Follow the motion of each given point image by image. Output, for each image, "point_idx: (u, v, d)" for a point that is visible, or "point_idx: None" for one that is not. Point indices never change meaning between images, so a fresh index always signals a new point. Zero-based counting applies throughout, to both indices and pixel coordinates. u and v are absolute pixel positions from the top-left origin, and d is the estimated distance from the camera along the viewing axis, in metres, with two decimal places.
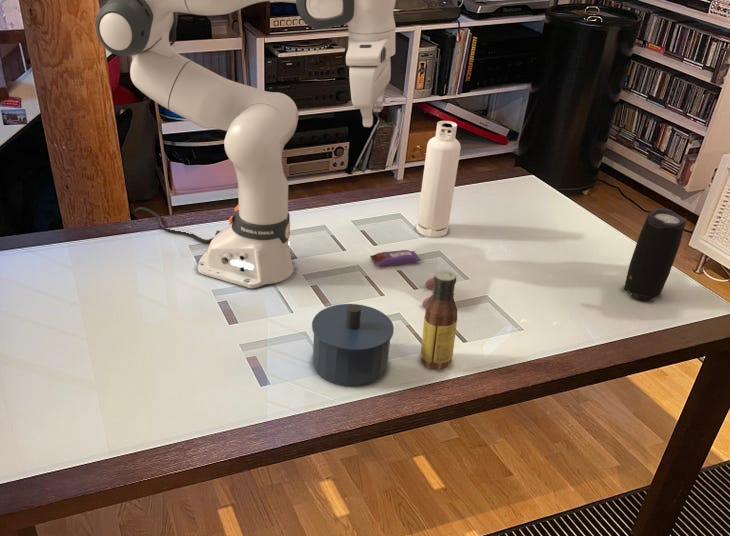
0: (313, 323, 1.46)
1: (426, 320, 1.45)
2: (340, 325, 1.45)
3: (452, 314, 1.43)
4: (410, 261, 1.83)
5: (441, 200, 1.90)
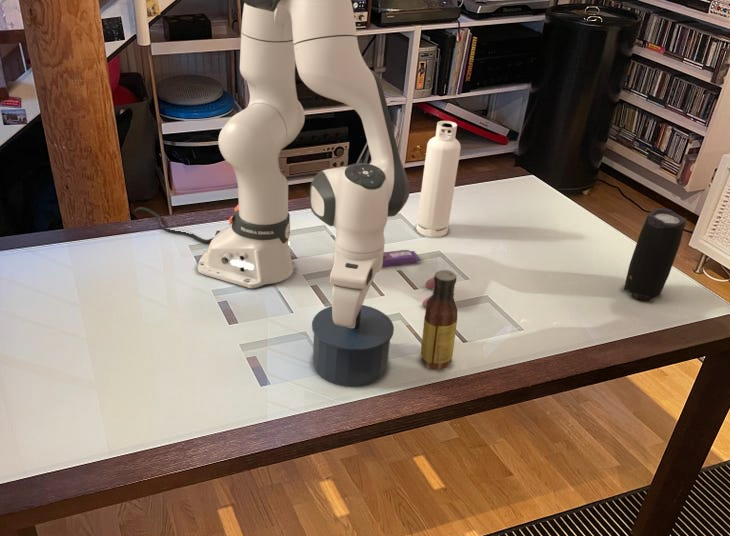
0: (313, 323, 1.46)
1: (426, 320, 1.45)
2: None
3: (452, 314, 1.43)
4: (410, 261, 1.83)
5: (441, 200, 1.90)
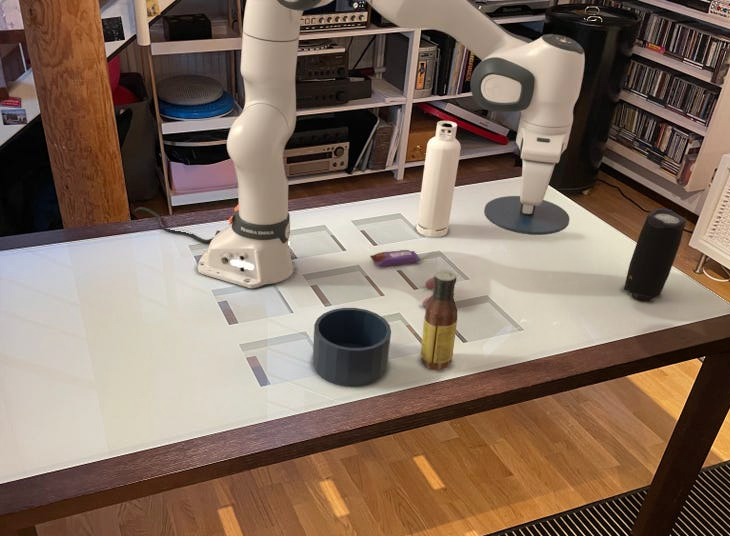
0: (486, 211, 1.43)
1: (426, 320, 1.45)
2: (514, 213, 1.43)
3: (452, 314, 1.43)
4: (410, 261, 1.83)
5: (441, 200, 1.90)
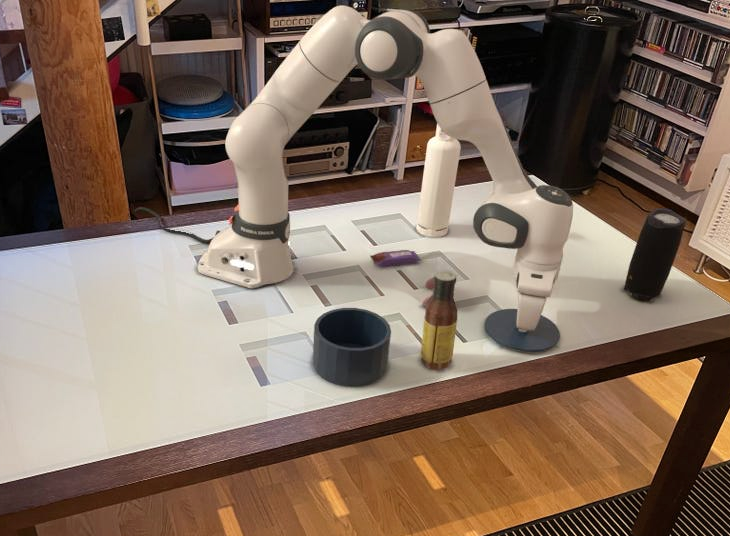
0: (486, 326, 1.61)
1: (426, 320, 1.45)
2: (511, 328, 1.61)
3: (452, 314, 1.43)
4: (410, 261, 1.83)
5: (441, 200, 1.90)
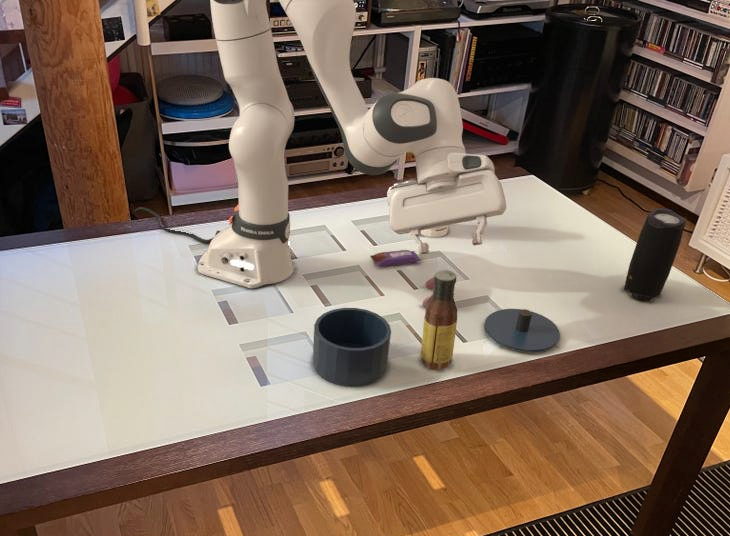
0: (486, 326, 1.61)
1: (426, 320, 1.45)
2: (511, 328, 1.61)
3: (452, 314, 1.43)
4: (410, 261, 1.83)
5: None
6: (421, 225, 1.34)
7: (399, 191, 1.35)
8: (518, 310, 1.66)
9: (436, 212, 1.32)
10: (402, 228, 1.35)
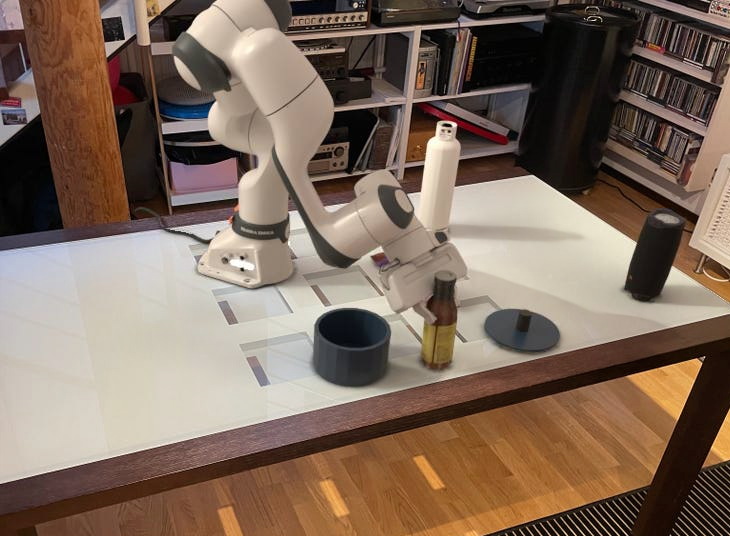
0: (486, 326, 1.61)
1: None
2: (511, 328, 1.61)
3: (452, 314, 1.43)
4: None
5: (441, 200, 1.90)
6: (424, 298, 1.41)
7: (396, 272, 1.39)
8: (518, 310, 1.66)
9: (430, 284, 1.43)
10: (413, 304, 1.39)
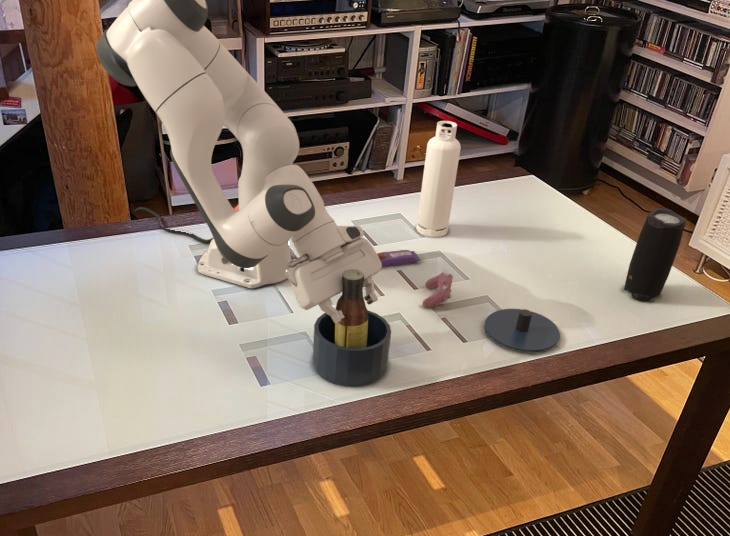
0: (486, 326, 1.61)
1: None
2: (511, 328, 1.61)
3: (361, 313, 1.41)
4: (410, 261, 1.83)
5: (441, 200, 1.90)
6: (333, 294, 1.39)
7: (304, 267, 1.37)
8: (518, 310, 1.66)
9: (340, 280, 1.41)
10: (321, 300, 1.37)
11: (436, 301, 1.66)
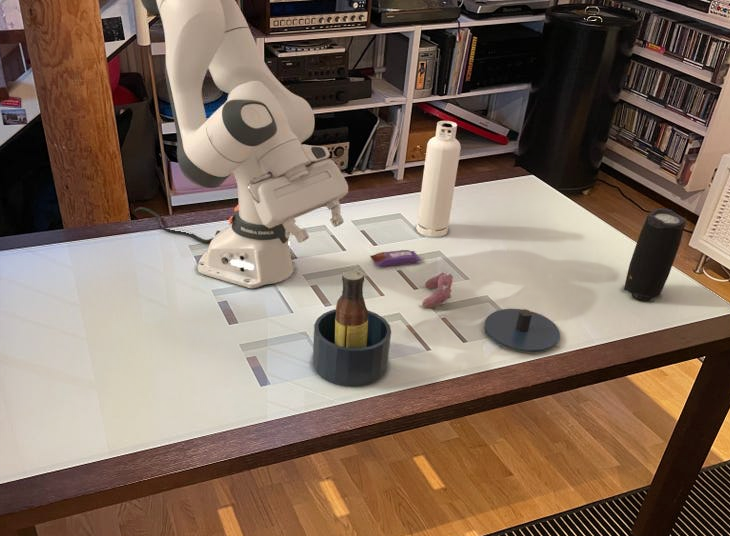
0: (486, 326, 1.61)
1: (336, 320, 1.43)
2: (511, 328, 1.61)
3: (361, 313, 1.41)
4: (410, 261, 1.83)
5: (441, 200, 1.90)
6: (297, 213, 1.37)
7: (266, 184, 1.34)
8: (518, 310, 1.66)
9: (305, 199, 1.38)
10: (284, 217, 1.35)
11: (436, 301, 1.66)
